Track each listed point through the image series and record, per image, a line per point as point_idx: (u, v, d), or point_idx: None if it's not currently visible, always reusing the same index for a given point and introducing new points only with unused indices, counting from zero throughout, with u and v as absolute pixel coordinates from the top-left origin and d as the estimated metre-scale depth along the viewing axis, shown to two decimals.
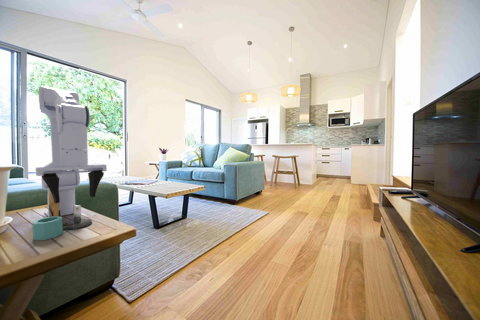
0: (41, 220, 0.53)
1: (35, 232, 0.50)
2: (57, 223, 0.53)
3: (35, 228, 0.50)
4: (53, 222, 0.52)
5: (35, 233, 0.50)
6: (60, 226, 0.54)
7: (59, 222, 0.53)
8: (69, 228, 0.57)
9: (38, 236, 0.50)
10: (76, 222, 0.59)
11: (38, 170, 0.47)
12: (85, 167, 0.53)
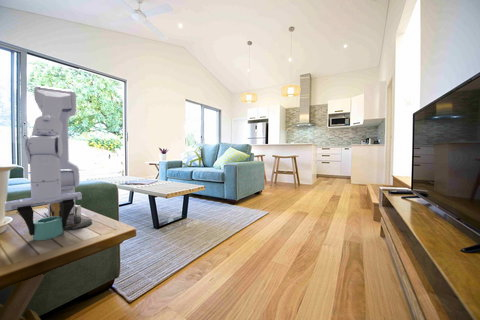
0: (41, 220, 0.53)
1: (35, 232, 0.50)
2: (57, 223, 0.53)
3: (35, 228, 0.50)
4: (53, 222, 0.52)
5: (35, 233, 0.50)
6: (60, 226, 0.54)
7: (59, 222, 0.53)
8: (69, 228, 0.57)
9: (38, 236, 0.50)
10: (76, 222, 0.59)
11: (6, 205, 0.46)
12: (57, 198, 0.52)
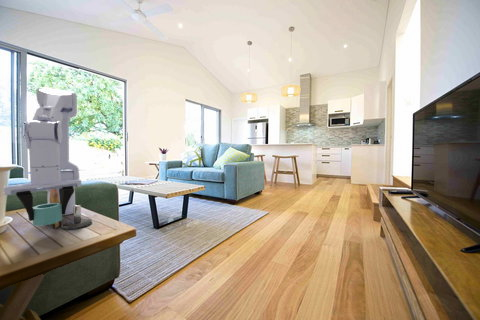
0: (41, 206, 0.53)
1: (35, 217, 0.50)
2: (57, 209, 0.52)
3: (35, 213, 0.50)
4: (53, 208, 0.51)
5: (35, 218, 0.50)
6: (60, 212, 0.53)
7: (59, 208, 0.53)
8: (69, 228, 0.57)
9: (38, 222, 0.50)
10: (76, 222, 0.59)
11: (5, 189, 0.46)
12: (57, 184, 0.52)
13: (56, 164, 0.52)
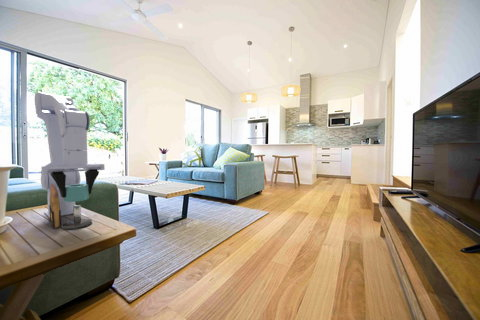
0: (70, 186, 0.60)
1: (66, 195, 0.57)
2: (85, 188, 0.59)
3: (67, 191, 0.57)
4: (81, 187, 0.59)
5: (66, 196, 0.57)
6: (87, 192, 0.61)
7: (86, 188, 0.60)
8: (69, 228, 0.57)
9: (69, 198, 0.57)
10: (76, 222, 0.59)
11: (43, 169, 0.53)
12: (85, 166, 0.59)
13: (86, 148, 0.60)
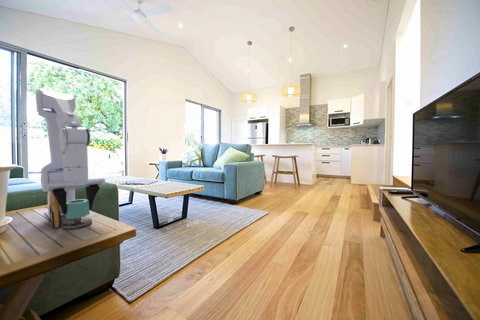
0: (71, 202, 0.60)
1: (67, 211, 0.57)
2: (85, 204, 0.60)
3: (68, 208, 0.57)
4: (82, 203, 0.59)
5: (67, 212, 0.57)
6: (88, 207, 0.61)
7: (87, 203, 0.60)
8: (69, 228, 0.57)
9: (70, 215, 0.57)
10: (76, 222, 0.59)
11: (44, 186, 0.53)
12: (86, 182, 0.59)
13: (87, 164, 0.60)
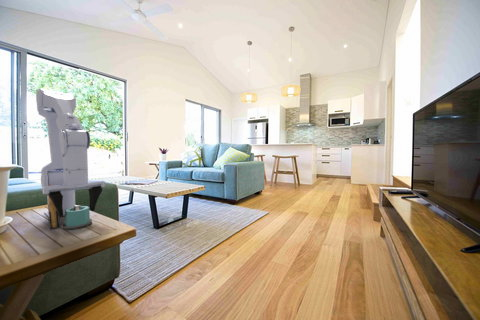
0: (71, 209, 0.60)
1: (68, 219, 0.57)
2: (86, 212, 0.60)
3: (68, 215, 0.57)
4: (82, 211, 0.59)
5: (68, 220, 0.57)
6: (88, 215, 0.61)
7: (87, 211, 0.60)
8: (69, 228, 0.57)
9: (70, 223, 0.57)
10: None
11: (44, 189, 0.53)
12: (85, 185, 0.59)
13: (87, 167, 0.60)
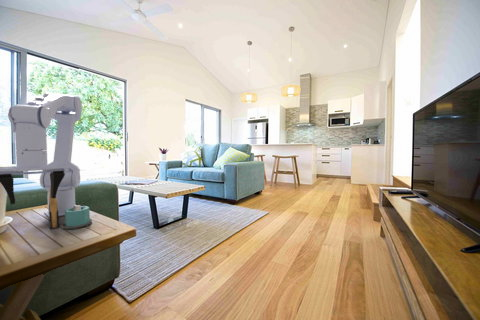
0: (71, 209, 0.60)
1: (68, 219, 0.57)
2: (86, 212, 0.60)
3: (68, 215, 0.57)
4: (82, 211, 0.59)
5: (68, 220, 0.57)
6: (88, 215, 0.61)
7: (87, 211, 0.60)
8: (69, 228, 0.57)
9: (70, 223, 0.57)
10: None
11: None
12: (43, 168, 0.53)
13: (40, 148, 0.52)
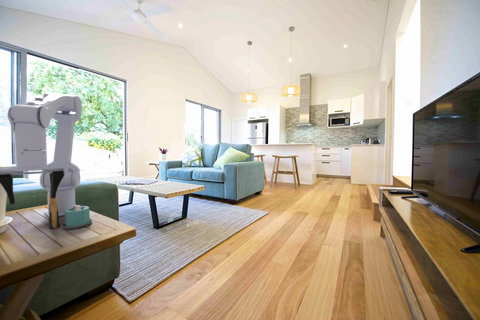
0: (71, 209, 0.60)
1: (68, 219, 0.57)
2: (86, 212, 0.60)
3: (68, 215, 0.57)
4: (82, 211, 0.59)
5: (68, 220, 0.57)
6: (88, 215, 0.61)
7: (87, 211, 0.60)
8: (69, 228, 0.57)
9: (70, 223, 0.57)
10: None
11: None
12: (43, 168, 0.52)
13: (40, 148, 0.52)
